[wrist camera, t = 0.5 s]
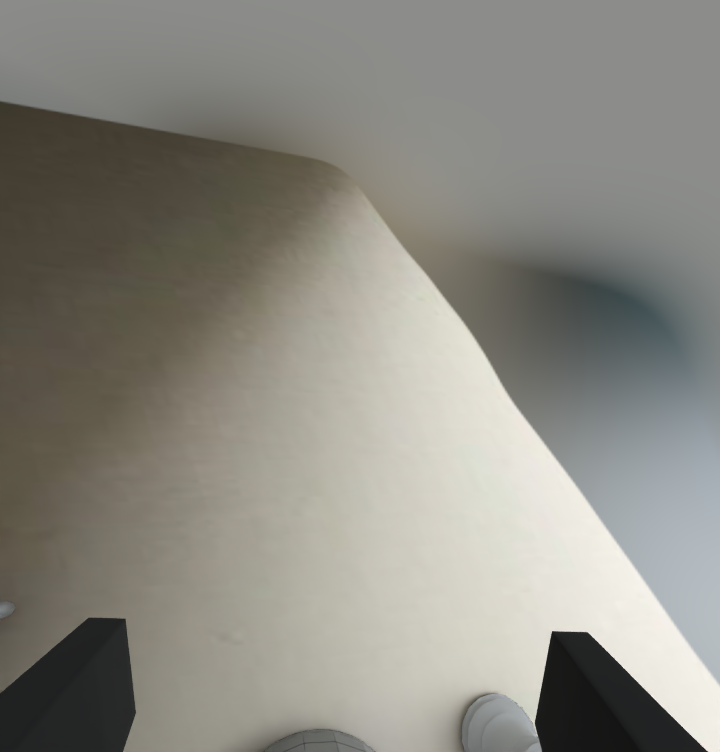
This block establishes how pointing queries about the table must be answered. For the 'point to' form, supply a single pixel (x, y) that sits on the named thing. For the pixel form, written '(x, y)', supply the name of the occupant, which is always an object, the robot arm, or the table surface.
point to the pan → (320, 742)
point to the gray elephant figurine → (6, 609)
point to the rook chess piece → (498, 727)
